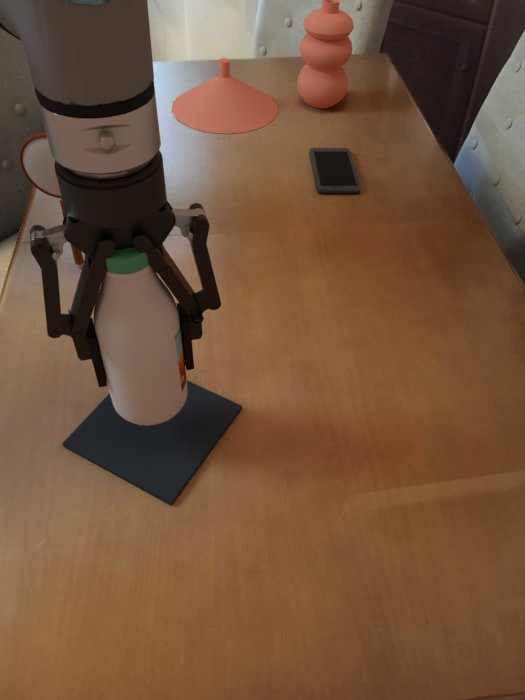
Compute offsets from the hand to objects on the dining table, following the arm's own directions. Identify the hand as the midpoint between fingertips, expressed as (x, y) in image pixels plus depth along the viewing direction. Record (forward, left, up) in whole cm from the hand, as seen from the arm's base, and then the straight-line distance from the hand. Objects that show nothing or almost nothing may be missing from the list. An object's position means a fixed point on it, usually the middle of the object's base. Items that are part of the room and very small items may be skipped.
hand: (145, 367), depth 59 cm
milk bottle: (0, 0, -5) cm, 5 cm away
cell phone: (-5, +59, -10) cm, 60 cm away
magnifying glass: (-25, +17, -10) cm, 32 cm away
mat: (0, 0, -10) cm, 10 cm away
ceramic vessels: (-28, +74, -10) cm, 80 cm away
